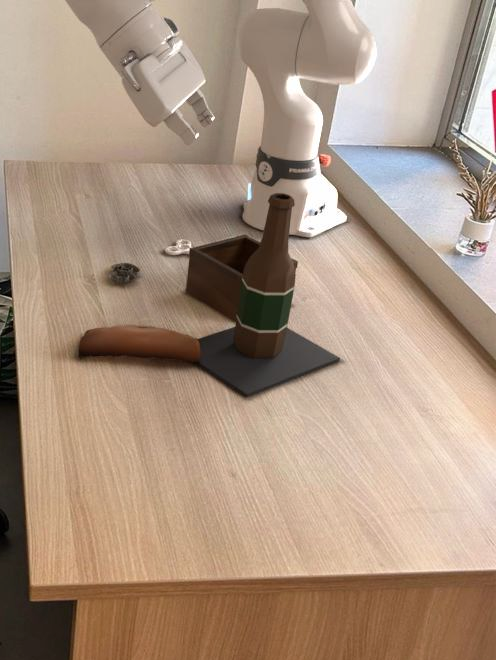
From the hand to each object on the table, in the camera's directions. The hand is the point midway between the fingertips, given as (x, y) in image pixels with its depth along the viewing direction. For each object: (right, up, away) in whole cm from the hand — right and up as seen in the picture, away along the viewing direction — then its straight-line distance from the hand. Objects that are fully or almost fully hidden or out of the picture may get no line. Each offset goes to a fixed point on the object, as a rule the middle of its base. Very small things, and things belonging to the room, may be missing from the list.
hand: (202, 132), depth 131 cm
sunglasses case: (-9, -29, +11) cm, 33 cm away
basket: (+7, -18, +30) cm, 36 cm away
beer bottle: (+9, -28, +15) cm, 33 cm away
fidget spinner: (-2, -8, +44) cm, 45 cm away
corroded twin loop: (-13, -14, +33) cm, 38 cm away
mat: (+9, -29, +14) cm, 34 cm away
